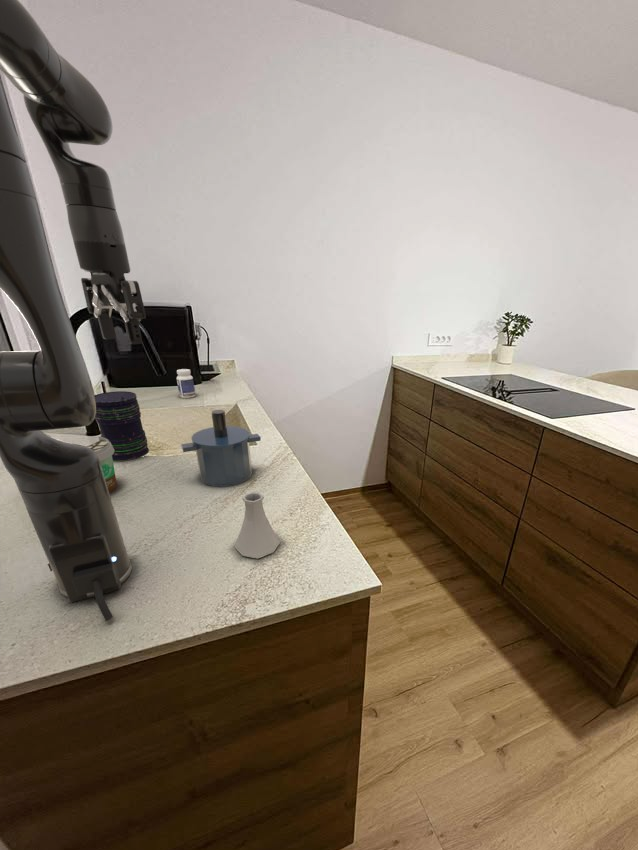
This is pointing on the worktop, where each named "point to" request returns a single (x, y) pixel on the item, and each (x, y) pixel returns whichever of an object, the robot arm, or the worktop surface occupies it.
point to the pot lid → (220, 433)
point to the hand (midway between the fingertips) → (122, 341)
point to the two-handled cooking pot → (224, 462)
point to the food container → (106, 461)
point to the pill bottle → (185, 383)
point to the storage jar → (121, 424)
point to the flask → (256, 529)
